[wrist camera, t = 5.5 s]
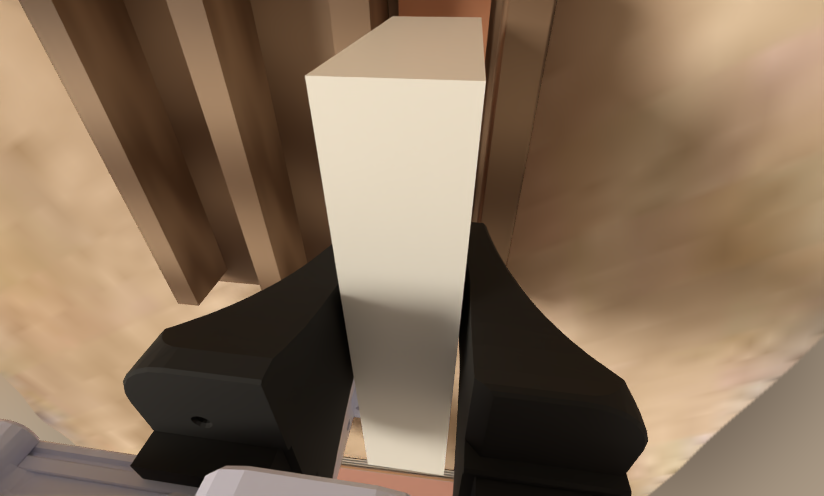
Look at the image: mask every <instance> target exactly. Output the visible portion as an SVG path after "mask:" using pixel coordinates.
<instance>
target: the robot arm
mask: <svg viewBox="0 0 824 496" xmlns="http://www.w3.org/2000/svg"><path fill="white" fill-rule="evenodd" d="M459 354H460V376H459V395H458V414H457V432H456V449H455V466H454V483H453V496H631V488H630V485H629V481H628V478H627V474H626V473H627V471H628V470H629V469H630V468H631V466H632V465H633V464H634V462H635V461H636V460H637V458H638V457H639V456H640V455H641V453H642V452H643V451H644V449H645V446H646V444H647V442H648V437H647V430H646V427H645V425H644V422H643V419H642V416H641V414H640V411H639V409H638V407H637V405H636V403H635V400H634V398H633V396H632V395H631V393H630V391H629V389H628V387H627V385H626V383H625V381H624V380H623V379H622V378H620V377H619V376H618V375H616V374H615V373H613V372H612V371H611V370H609V369H608V368H606V367H605V366H604V365H602V364H601V363H599V362H598V361H597V360H595V359H594V358H592V357H591V356H590V355H588V354H587V353H586V352H585V351H583V350H582V349H581V348H580V347H578V346H577V345H576V344H575V343H574V342H572V341H571V340H570V339H569V338H568V337H566V336H565V335H564V334H563V333H562V332H561V331H560V330H559V329H558V328H557V327H556V326H555V325H554V324H553V323H552V322H551V321H549V320H548V319H547V318H546V317H545V316H544V315H543V313H542V312H541V311H540V310H539V309H538V308H537V307H536V306H535V305H534V303H533V302H532V301H531V300H530V299H529V297H528V296H527V295H526V294H525V292H524V291H523V290H522V289H521V287H520V286H519V285H518V283H517V282H516V280H515V279H514V277H513V276H512V274H511V273H510V271H509V270H508V268H507V267H506V265H505V263H504V262H503V260H502V258H501V257H500V255H499V253H498V251H497V249H496V247H495V245H494V243H493V241H492V239H491V237H490V235H489V232H488V229H487V226H486V225H485V224H484V223H477V222H471V225H470V234H469V244H468V253H467V262H466V272H465V281H464V290H463V300H462V309H461V318H460V328H459ZM123 384H124V390H125V394H126V395H127V397H128V399H129V400H130V402H131V403H132V404H133V406H134V407H135V408H136V409H137V411H138V412H139V413H140V414H141V415H142V417H143V418H144V419H145V420H146V422H147V423H148V424H149V425H150V426H151V428H152V429H153V430H154V431H153V433H152V434H151V436H150V437H149V439H148V440H147V442H146V443H145V445H144V446H143V448H142V449H141V450H140V452H139V453H138V455H132V454H126V453H119V452H113V451H106V450H99V449H93V448H86V447H80V446H73V445H67V444H60V443H53V442H47V441H40V440H39V438H38V436H37V435H36V434H35V433H34V432H32V431H31V430H30V429H29V428H27V427H25V426H24V425H22V424H19V423H17V422H14V421H10V420H4V419H0V496H411V495H409V494H407V493H405V492H401V491H397V490H393V489H390V488H386V487H382V486H378V485H371V484H365V483H358V482H351V481H345V480H338V479H337V477H338V473H339V469H340V466H341V462H342V458H343V455H344V451H345V447H346V443H347V440H348V436H349V432H350V429H351V425H352V421H353V417H358V418H360V412H359V406H358V400H357V394H356V387H355V381H354V375H353V369H352V363H351V357H350V350H349V344H348V338H347V332H346V326H345V320H344V314H343V307H342V301H341V295H340V289H339V283H338V277H337V270H336V264H335V258H334V252H333V246H332V244H331V245H330V246H329V247H328V248H327V249H325V250H324V251H323V252H321V253H320V254H319V255H317V256H316V257H315V258H314V259H312V260H311V261H310V262H308V263H307V264H305V265H304V266H303V267H301V268H300V269H298V270H297V271H295V272H293V273H292V274H290V275H289V276H287V277H285V278H284V279H282V280H280V281H279V282H277V283H275V284H273V285H271V286H269V287H267V288H266V289H264V290H262V291H260V292H258V293H256V294H254V295H252V296H250V297H248V298H246V299H244V300H242V301H239V302H237V303H235V304H233V305H230V306H228V307H225V308H223V309H221V310H218V311H216V312H213V313H211V314H208V315H205V316H202V317H200V318H197V319H194V320H191V321H188V322H185V323H182V324H179V325H176V326H173V327H170V328H167V329H165V330H164V331H163V332H162V333H161V334H160V335H159V336H158V338H157V339H156V340H155V341H154V342H153V344H152V345H151V346H150V347H149V348H148V349H147V351H146V352H145V353H144V354H143V355H142V357H141V358H140V359H139V360H138V361H137V362H136V364H135V365H134V366H133V367H132V368H131V370H130V371H129V372H128V373H127V374H126V376H125V378H124V381H123Z"/></svg>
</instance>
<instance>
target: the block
mask: <svg viewBox="0 0 824 496" xmlns="http://www.w3.org/2000/svg"><path fill="white" fill-rule="evenodd" d="M305 80H306V86H307V92H308V98H309V104H310V110H311V117H312V123H313V129H314V135H315V141H316V147H317V153H318V160H319V166H320V172H321V178H322V184H323V190H324V197H325V203H326V209H327V215H328V221H329V227H330V234H331V240H332V246H333V252H334V258H335V264H336V270H337V277H338V283H339V289H340V295H341V301H342V307H343V314H344V320H345V326H346V332H347V338H348V344H349V350H350V357H351V363H352V369H353V375H354V381H355V387H356V394H357V400H358V406H359V412H360V418H361V424H362V430H363V437H364V443H365V449H366V455H367V461H368V464H369V465H376V466H382V467H389V468H396V469H403V470H410V471H417V472H424V473H431V474H438V475H444V468H445V458H446V449H447V440H448V430H449V421H450V412H451V402H452V393H453V384H454V374H455V365H456V356H457V346H458V337H459V328H460V318H461V309H462V300H463V290H464V281H465V272H466V262H467V253H468V244H469V234H470V225H471V216H472V206H473V197H474V188H475V178H476V169H477V160H478V150H479V141H480V132H481V122H482V113H483V104H484V94H485V85H486V75H485V61H484V47H483V32H482V18H481V17H413V16H392V17H391V18H389V19H388V20H386V21H385V22H384V23H382V24H381V25H379V26H378V27H376V28H375V29H373V30H372V31H370V32H369V33H367V34H366V35H364V36H363V37H361V38H360V39H358V40H357V41H355V42H354V43H352V44H351V45H349V46H348V47H347V48H345V49H344V50H342V51H341V52H339V53H338V54H336V55H335V56H333V57H332V58H330V59H329V60H327V61H326V62H324V63H323V64H321V65H320V66H318V67H317V68H315V69H314V70H312V71H311V72H310V73H308V74H307V75H305Z"/></svg>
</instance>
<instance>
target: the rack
mask: <svg viewBox="0 0 824 496" xmlns="http://www.w3.org/2000/svg"><path fill="white" fill-rule="evenodd" d="M19 2H20V4H21V6H22V8H23V9H24V11H25V13H26V15H27V17H28V19H29V21H30V23H31V25H32V27H33V28H34V30H35V32H36V34H37V36H38V38H39V40H40V42H41V44H42V46H43V47H44V49H45V51H46V53H47V55H48V57H49V59H50V61H51V63H52V65H53V66H54V68H55V70H56V72H57V74H58V76H59V78H60V80H61V82H62V84H63V85H64V87H65V89H66V91H67V93H68V95H69V97H70V99H71V101H72V103H73V105H74V106H75V108H76V110H77V112H78V114H79V116H80V118H81V120H82V122H83V124H84V125H85V127H86V129H87V131H88V133H89V135H90V137H91V139H92V141H93V143H94V144H95V146H96V148H97V150H98V152H99V154H100V156H101V158H102V160H103V162H104V163H105V165H106V167H107V169H108V171H109V173H110V175H111V177H112V179H113V181H114V182H115V184H116V186H117V188H118V190H119V192H120V194H121V196H122V198H123V200H124V201H125V203H126V205H127V207H128V209H129V211H130V213H131V215H132V217H133V219H134V220H135V222H136V224H137V226H138V228H139V230H140V232H141V234H142V236H143V238H144V239H145V241H146V243H147V245H148V247H149V249H150V251H151V253H152V255H153V257H154V259H155V260H156V262H157V264H158V266H159V268H160V270H161V272H162V274H163V276H164V278H165V279H166V281H167V283H168V285H169V287H170V289H171V291H172V293H173V295H174V297H175V298H176V300H177V302H178V304H188V305H198V306H199V305H200V303H201V302H202V301H203V300H204V298H205V297H206V296H207V295H208V293H209V292H210V291H211V290H212V288H213V287H214V286H215V285H216V284H217V282H218V281H225V282H235V283H246V284H257V285H260V287H261V290H264V289H266V288H267V287H269V286H271V285H273V284H275V283H277V282H279V281H280V280H282V279H284V278H285V277H287V276H289V275H290V274H292V273H293V272H295V271H297V270H298V269H300V268H301V267H303V266H304V265H305V264H307V263H308V262H310V261H311V260H312V259H314V258H315V257H316V256H317V255H319V254H320V253H321V252H323V251H324V250H325V249H327V248H328V247H329V246H330V245H331V244H332V240H331V234H330V227H329V221H328V215H327V209H326V203H325V197H324V190H323V184H322V178H321V172H320V166H319V160H318V153H317V147H316V141H315V135H314V129H313V123H312V117H311V110H310V104H309V98H308V92H307V86H306V80H305V75H307V74H308V73H310V72H311V71H312V70H314V69H315V68H317V67H318V66H320V65H321V64H323V63H324V62H326V61H327V60H329V59H330V58H332V57H333V56H335V55H336V54H338V53H339V52H341V51H342V50H344V49H345V48H347V47H348V46H349V45H351V44H352V43H354V42H355V41H357V40H358V39H360V38H361V37H363V36H364V35H366V34H367V33H369V32H370V31H372V30H373V29H375V28H376V27H378V26H379V25H381V24H382V23H384V22H385V21H386V20H388V19H389V18H391V17H392V16H413V17H481V18H482V32H483V47H484V61H485V75H486V85H485V94H484V104H483V113H482V122H481V132H480V141H479V150H478V160H477V169H476V178H475V188H474V197H473V206H472V216H471V222H477V223H484V224H485V225H486V226H487V229H488V232H489V235H490V237H491V239H492V241H493V243H494V245H495V247H496V249H497V251H498V253H499V255H500V257H501V258H502V260H503V262H504V263H505V265H506V266H507V260H508V255H509V250H510V245H511V239H512V234H513V229H514V224H515V218H516V213H517V208H518V203H519V197H520V192H521V187H522V182H523V176H524V171H525V166H526V161H527V155H528V150H529V145H530V140H531V134H532V129H533V124H534V119H535V113H536V108H537V103H538V98H539V92H540V87H541V82H542V77H543V71H544V66H545V61H546V56H547V50H548V45H549V40H550V35H551V29H552V24H553V19H554V14H555V8H556V3H557V0H19Z"/></svg>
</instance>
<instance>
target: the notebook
mask: <svg viewBox="0 0 824 496" xmlns="http://www.w3.org/2000/svg"><path fill="white" fill-rule="evenodd" d="M337 479H338V480H345V481H351V482H358V483H365V484H371V485H378V486H382V487H386V488H390V489H393V490H397V491H401V492H405V493H407V494H409V495H411V496H453V483H454V471H451V470H444V475H438V474H431V473H424V472H417V471H410V470H403V469H396V468H389V467H382V466H376V465H369V464H368V461H367V460H361V459H353V458H345V457H343V458H342V462H341V466H340V469H339V473H338V477H337Z"/></svg>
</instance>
